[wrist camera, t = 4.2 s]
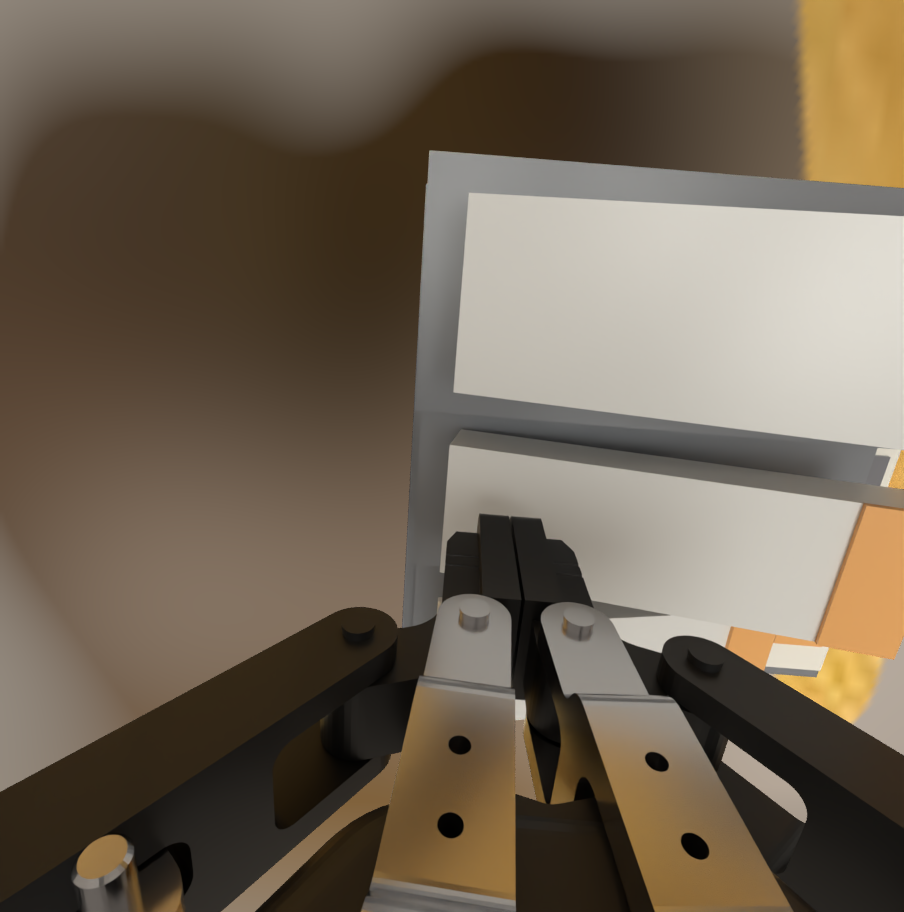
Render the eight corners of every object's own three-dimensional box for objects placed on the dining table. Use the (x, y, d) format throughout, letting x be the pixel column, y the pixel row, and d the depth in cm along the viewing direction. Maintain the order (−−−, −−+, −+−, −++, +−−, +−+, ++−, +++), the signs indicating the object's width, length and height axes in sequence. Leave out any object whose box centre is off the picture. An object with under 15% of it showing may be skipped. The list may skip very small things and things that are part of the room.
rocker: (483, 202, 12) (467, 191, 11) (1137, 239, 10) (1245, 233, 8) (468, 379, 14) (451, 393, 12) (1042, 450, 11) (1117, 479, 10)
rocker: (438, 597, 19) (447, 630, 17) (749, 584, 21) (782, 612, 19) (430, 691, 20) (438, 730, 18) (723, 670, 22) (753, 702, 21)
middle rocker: (461, 428, 17) (448, 446, 15) (910, 490, 14) (952, 517, 13) (451, 547, 18) (438, 574, 16) (861, 619, 16) (893, 659, 14)
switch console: (428, 188, 19) (401, 137, 11) (949, 230, 19) (1287, 207, 11) (404, 626, 25) (375, 792, 17) (800, 658, 25) (952, 839, 17)
